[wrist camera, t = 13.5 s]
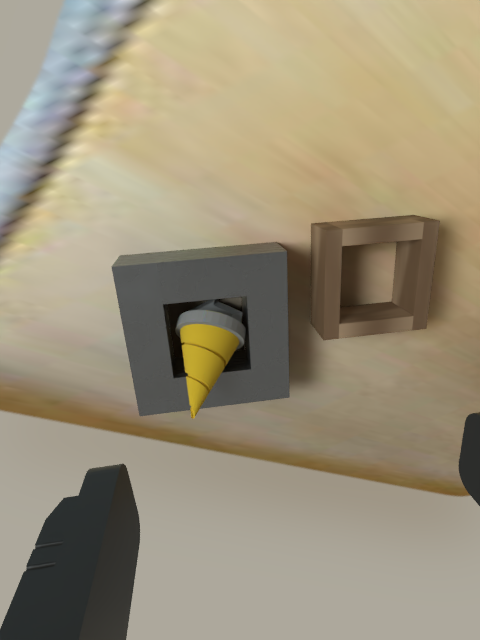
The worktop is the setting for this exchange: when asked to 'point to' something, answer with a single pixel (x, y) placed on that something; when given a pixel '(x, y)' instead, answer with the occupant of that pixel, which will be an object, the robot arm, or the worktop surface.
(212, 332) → the drill bit
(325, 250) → the wooden square frame
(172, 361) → the hub plate
